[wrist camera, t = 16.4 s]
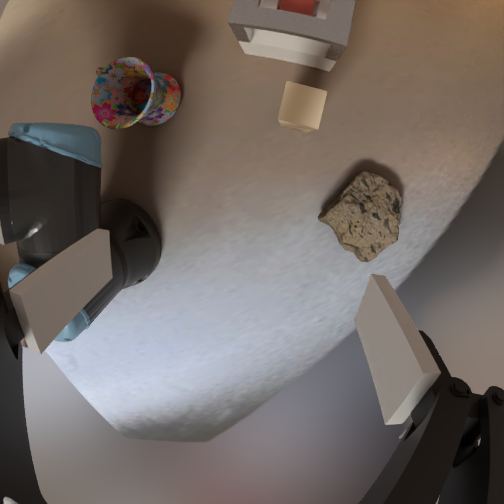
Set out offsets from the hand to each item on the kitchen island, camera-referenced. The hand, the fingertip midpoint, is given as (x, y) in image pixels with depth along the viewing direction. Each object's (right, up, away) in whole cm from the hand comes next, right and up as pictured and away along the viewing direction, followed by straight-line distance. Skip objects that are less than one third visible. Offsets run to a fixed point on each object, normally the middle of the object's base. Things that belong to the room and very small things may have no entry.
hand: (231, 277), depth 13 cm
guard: (+6, +31, +12) cm, 33 cm away
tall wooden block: (+7, +20, +23) cm, 31 cm away
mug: (-14, +25, +23) cm, 37 cm away
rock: (+18, +7, +27) cm, 33 cm away
